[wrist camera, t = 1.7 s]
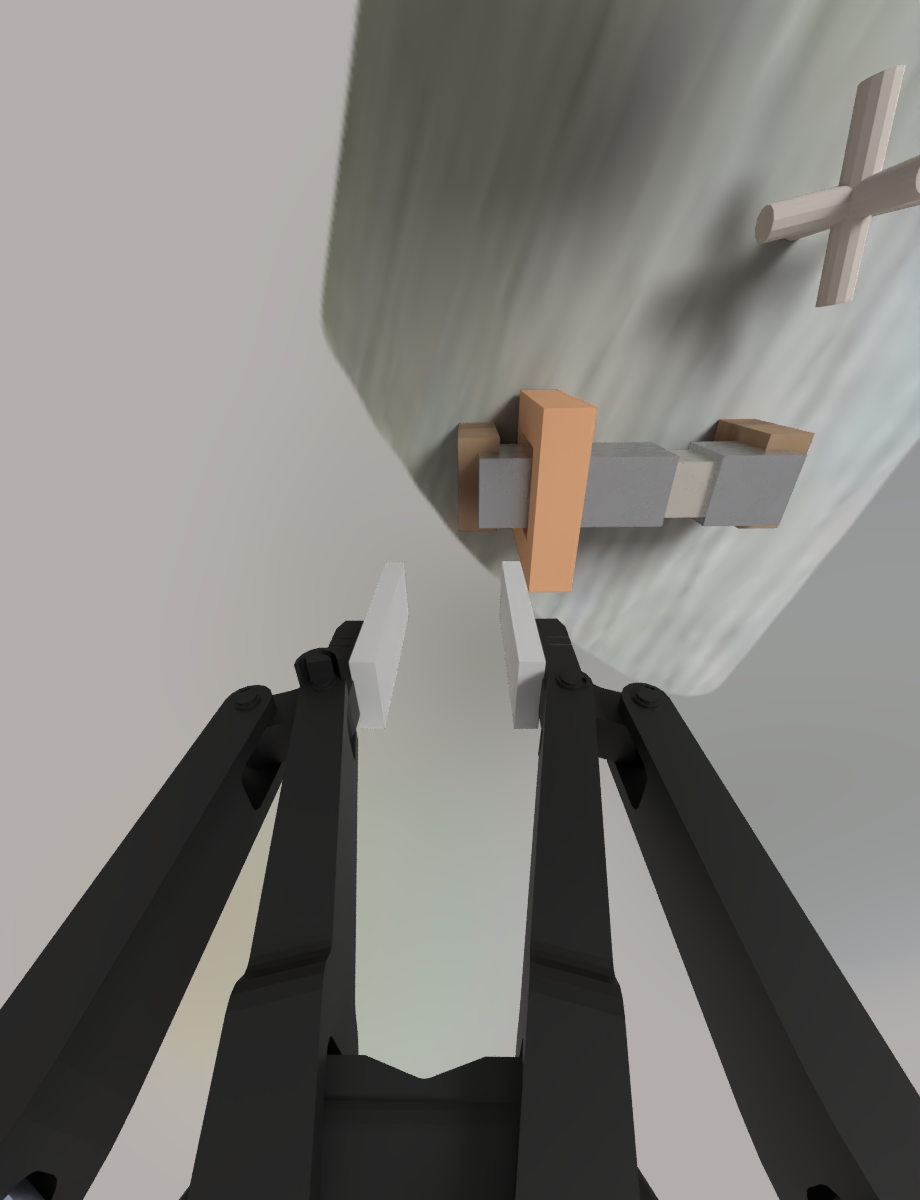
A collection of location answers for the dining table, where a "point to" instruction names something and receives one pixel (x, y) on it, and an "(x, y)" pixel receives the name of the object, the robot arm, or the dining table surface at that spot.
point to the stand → (488, 440)
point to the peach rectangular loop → (554, 485)
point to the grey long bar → (651, 484)
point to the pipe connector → (851, 191)
